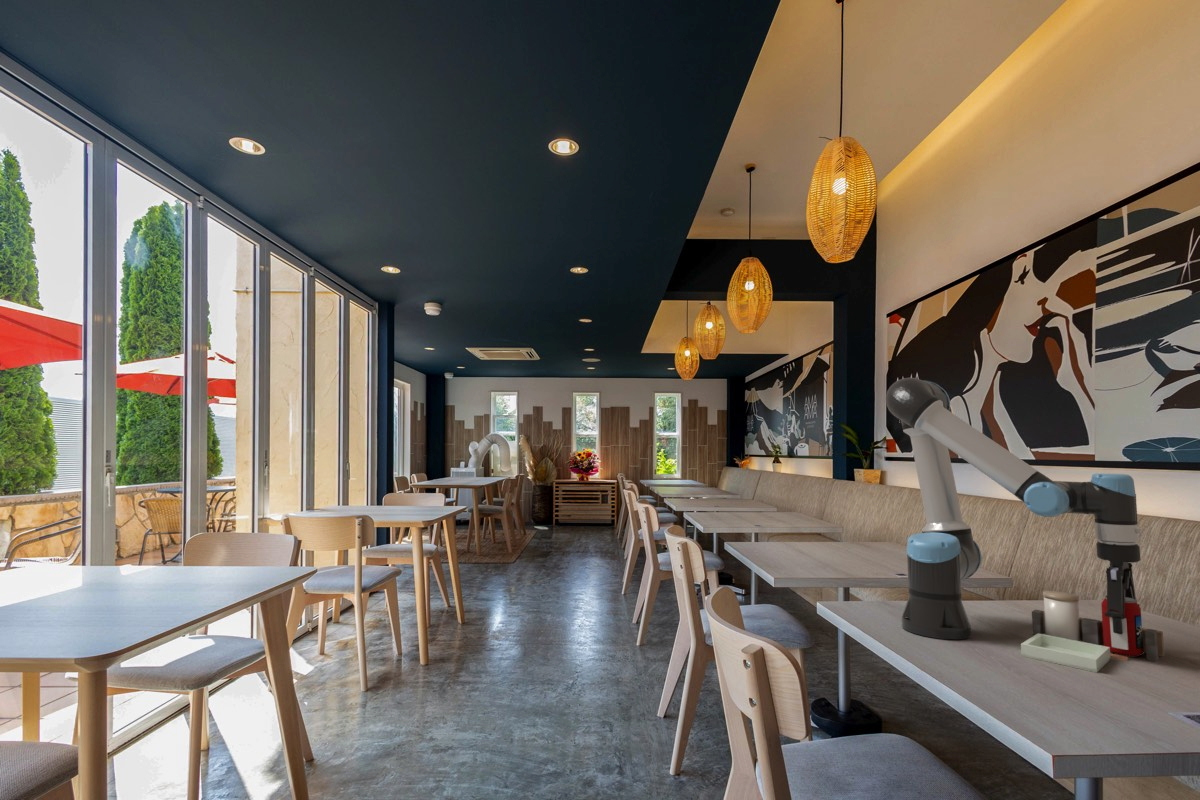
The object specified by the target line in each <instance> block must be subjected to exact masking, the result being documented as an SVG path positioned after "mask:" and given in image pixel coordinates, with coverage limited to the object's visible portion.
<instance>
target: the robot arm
mask: <svg viewBox="0 0 1200 800" xmlns="http://www.w3.org/2000/svg"><path fill="white" fill-rule="evenodd" d="M885 404H886V408H887V409H888V411H889V412H890V414H892V415H893V416H894V417H895V418H896V419H899V420H900V422H901V427H902V431H903V433H904V434H906V435H908V436H909V438H910V443H911V447H912V453H913V458H914V464H915V469H916V474H917V479H918V484H919V489H920V490H919V491H920V496H921V499H922V504H923V505H922V506H923V510H924V511H923V512H924V517H925V521H926V524H925V525H924V526H923V528H922V529H921V532H918V533H913V534H912V535H910V536H908V538H907V544H906V549H905V550H906V554H907V555H906V556H907V557H906V558H907V582H908V597H907V601H906V604H905V607H904V609H903V613H902V615H901V627H902V629H903V630H905V631H907V632H909V633H912V634H915V635H919V636H922V637H928V638H932V639H940V640H941V639H942V640H944V639H945V640H966V639H969V638H971V637H972V626H971V623H970V620H969V617H968V615H967V612H966V609H965V606H964V605H963V599H962V596H963V595H962V581H963V580H966V579H969V578H971V577H972V576H974V575H975V574H976V572H977V571H978V570H979V569H980V566H981V564H982V558H983V556H982V551H981V548H980V547H979V545H978V544H977V542H976V541H975V540H974V537H973V532H972V528H971V526H970V525H969V524H967V523H966V522H964V520H963V516H962V511H961V510H962V509H961V506H960V500H959V495H958V490H957V487H956V482H955V476H954V470H953V467H952V461H951V457H950V455H951V454H950V453H949V452H950V451H951V452H953V453H954V454H956V456H959V457H960V458H961V459H963V460H964V461H966V462H967V463H968V464H969V465H971V466H973V467H974V468H975V469H976V470H979V472H981V473H983V474H984V475H986V476H987V477H988V478H989V479H991V480H993V481H994V482H995V483H997V484H998V485H999V486H1001V487H1002V488H1004V489H1005V491H1008V492H1009V493H1011V494H1012V495H1014V497H1016V498H1017V499H1018V500H1020V501H1021V502H1023V504H1025V506H1026V507H1027V509H1028V510H1029V511H1030V512H1032V513H1033V514H1034V515H1037V516H1039V517H1043V518H1054V517H1058V516H1060V515H1063V514H1075V515H1077V514H1078V515H1079V514H1080V515H1082V514H1083V515H1093V516H1094V517H1093V518H1094V532H1095V539H1096V540H1097V542H1096V556H1097V558H1098V559H1100V560H1102V561H1109V567H1107V568H1106V570H1105V573H1106V596H1107V613H1105V616H1107V617H1110V630H1111V644H1112V647H1114V648H1120V649H1125V650H1128V636H1127V623H1126V618H1125V597H1128V598H1132V599H1135V600H1136V602H1137V604H1138V601H1137V598H1136V597H1137V596H1136V590H1135V582H1134V576H1133V563H1138V562H1141V560H1142V559H1141V547H1140V546H1139V544H1137V543H1138V542H1140V539H1139V534H1142V533H1143V531H1142V529H1141V528H1138V523H1139V522H1138V508H1137V507H1138V506H1137V493H1136V487H1135V481H1134V478H1133V477H1132V475H1130V474H1125V473H1094V474H1092V475H1091V479H1090V481H1061V480H1053V479H1051V478H1049V477H1048V476H1046V475H1045V474H1043V473H1042V472H1040V471H1039V470H1037V469H1036V468H1034V467H1033V466H1032V465H1030V464H1029V463H1027V462H1025V461H1024V460H1023V459H1021V458H1019V457H1018V456H1017V455H1015V454H1013V453H1012V452H1010V451H1009V450H1008V449H1006V448H1004V447H1003V446H1001V445H1000V444H998V443H997V442H996V441H994V440H993V439H992V438H990V437H988V436H987V435H985V433H983V432H981V431H980V430H978V429H976V428H975V427H973V426H972V425H971V424H969V423H968V422H966V421H964V420H963V419H962V418H961V417H958V416H957V415H956V414H955V413H953V412H951V411H950V409H951V400H950V397H949V395H948V393H947V391H946V390H945V389H944V388H943V387H941V386H940V385H939V384H937V383H936V382H933V381H930V380H922V379H920V378H916V377H904V378H903V377H902V378H900V379H898V380H896V381H894V382H893V383H892V384H891V385H890V386H889V388H888V389H887V391H886V395H885ZM949 450H950V451H949ZM1138 605H1139V606H1140V604H1138ZM1113 610H1118V611H1113Z"/></svg>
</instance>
